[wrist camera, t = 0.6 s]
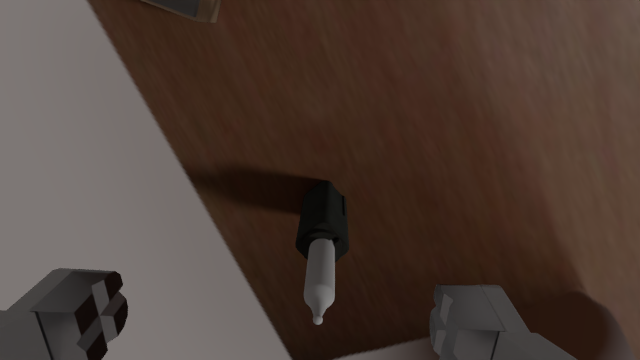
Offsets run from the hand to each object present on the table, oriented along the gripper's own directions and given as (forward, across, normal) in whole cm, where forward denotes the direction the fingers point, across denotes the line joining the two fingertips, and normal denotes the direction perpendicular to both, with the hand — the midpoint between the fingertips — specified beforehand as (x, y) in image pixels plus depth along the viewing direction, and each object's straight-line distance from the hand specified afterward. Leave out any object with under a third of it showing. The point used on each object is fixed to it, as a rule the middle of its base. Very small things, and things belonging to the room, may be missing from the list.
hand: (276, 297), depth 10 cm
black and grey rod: (+42, 0, +18) cm, 46 cm away
